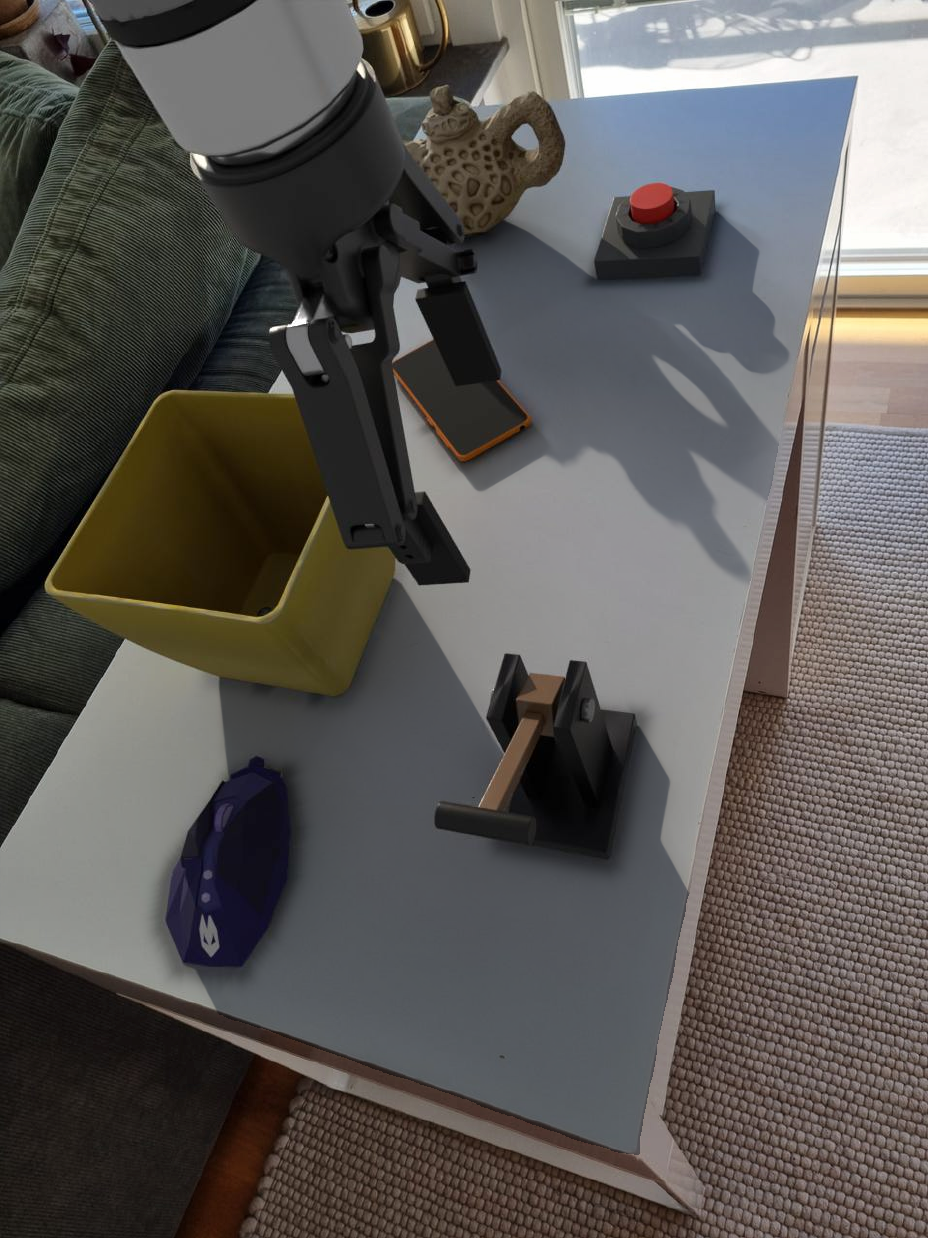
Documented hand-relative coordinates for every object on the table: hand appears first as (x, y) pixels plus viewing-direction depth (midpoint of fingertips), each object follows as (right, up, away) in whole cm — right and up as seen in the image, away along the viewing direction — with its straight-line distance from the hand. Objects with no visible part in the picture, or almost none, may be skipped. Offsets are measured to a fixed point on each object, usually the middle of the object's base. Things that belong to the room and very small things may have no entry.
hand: (463, 472), depth 51 cm
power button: (+18, +31, +39) cm, 53 cm away
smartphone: (0, +13, +37) cm, 39 cm away
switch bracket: (+7, -19, +13) cm, 24 cm away
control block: (+19, +29, +42) cm, 54 cm away
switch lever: (+3, -16, +1) cm, 17 cm away
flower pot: (-13, -8, +27) cm, 31 cm away
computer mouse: (-16, -25, +17) cm, 35 cm away
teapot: (+2, +35, +52) cm, 62 cm away
